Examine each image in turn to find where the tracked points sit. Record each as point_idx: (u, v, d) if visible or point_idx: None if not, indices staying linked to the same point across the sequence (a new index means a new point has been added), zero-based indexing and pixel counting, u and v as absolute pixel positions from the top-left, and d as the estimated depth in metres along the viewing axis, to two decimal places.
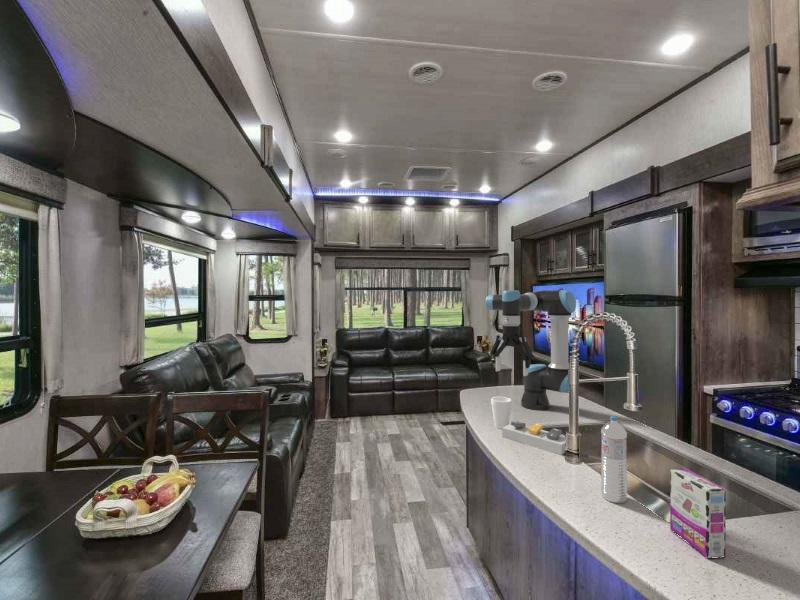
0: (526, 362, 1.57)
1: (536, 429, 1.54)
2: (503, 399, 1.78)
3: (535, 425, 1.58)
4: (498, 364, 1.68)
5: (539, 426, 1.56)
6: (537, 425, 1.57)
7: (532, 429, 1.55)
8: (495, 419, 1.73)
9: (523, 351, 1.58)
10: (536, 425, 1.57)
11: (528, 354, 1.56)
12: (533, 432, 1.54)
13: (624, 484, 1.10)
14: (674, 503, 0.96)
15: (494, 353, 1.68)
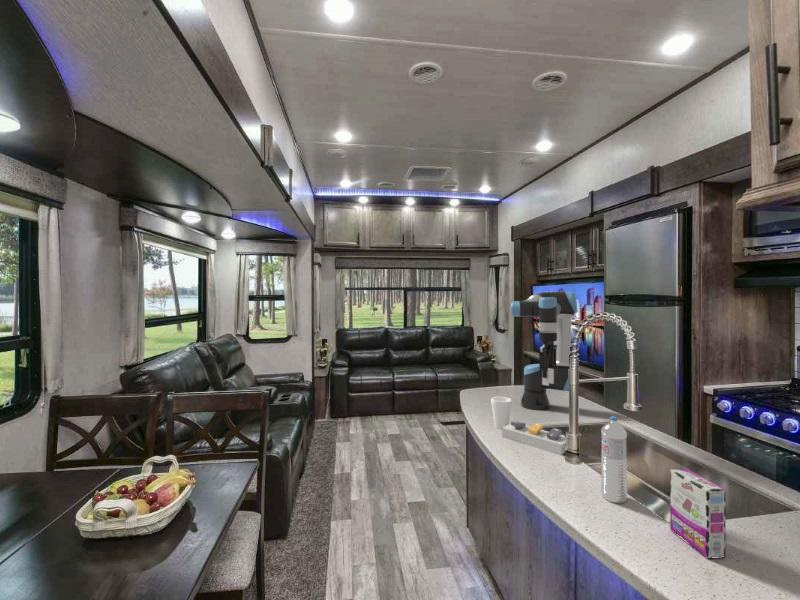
0: None
1: (536, 429, 1.54)
2: (503, 399, 1.78)
3: (535, 425, 1.58)
4: (549, 376, 1.66)
5: (539, 426, 1.56)
6: (537, 425, 1.57)
7: (532, 429, 1.55)
8: (495, 419, 1.73)
9: None
10: (536, 425, 1.57)
11: None
12: (533, 432, 1.54)
13: (624, 484, 1.10)
14: (674, 503, 0.96)
15: None
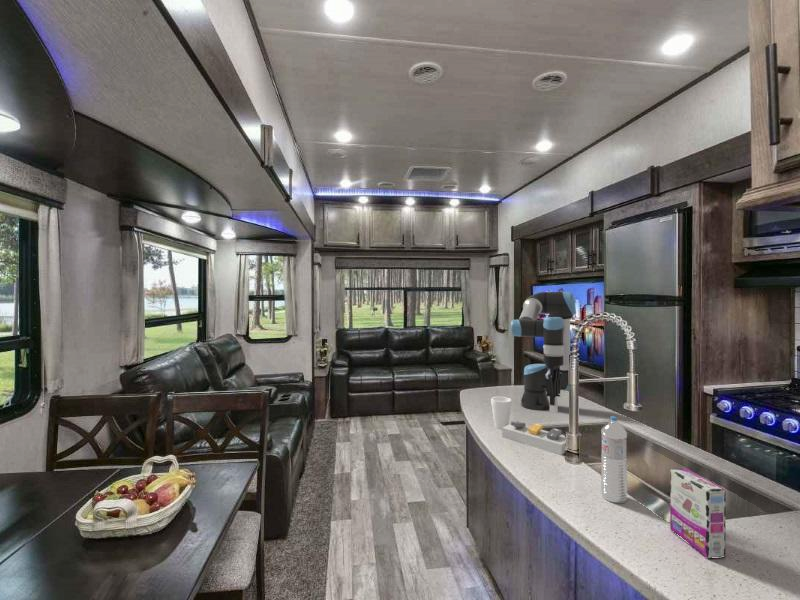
0: None
1: (536, 429, 1.54)
2: (503, 399, 1.78)
3: (535, 425, 1.58)
4: None
5: (539, 426, 1.56)
6: (537, 425, 1.57)
7: (532, 429, 1.55)
8: (495, 419, 1.73)
9: None
10: (536, 425, 1.57)
11: None
12: (533, 432, 1.54)
13: (624, 484, 1.10)
14: (674, 503, 0.96)
15: None
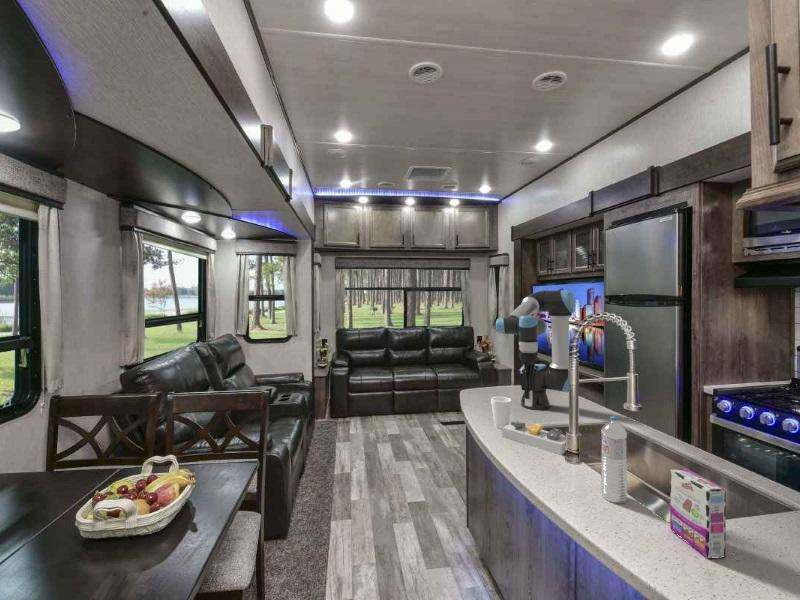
0: None
1: (536, 429, 1.54)
2: (503, 399, 1.78)
3: (535, 425, 1.58)
4: None
5: (539, 426, 1.56)
6: (537, 425, 1.57)
7: (532, 429, 1.55)
8: (495, 419, 1.73)
9: None
10: (536, 425, 1.57)
11: None
12: (533, 432, 1.54)
13: (624, 484, 1.10)
14: (674, 503, 0.96)
15: None
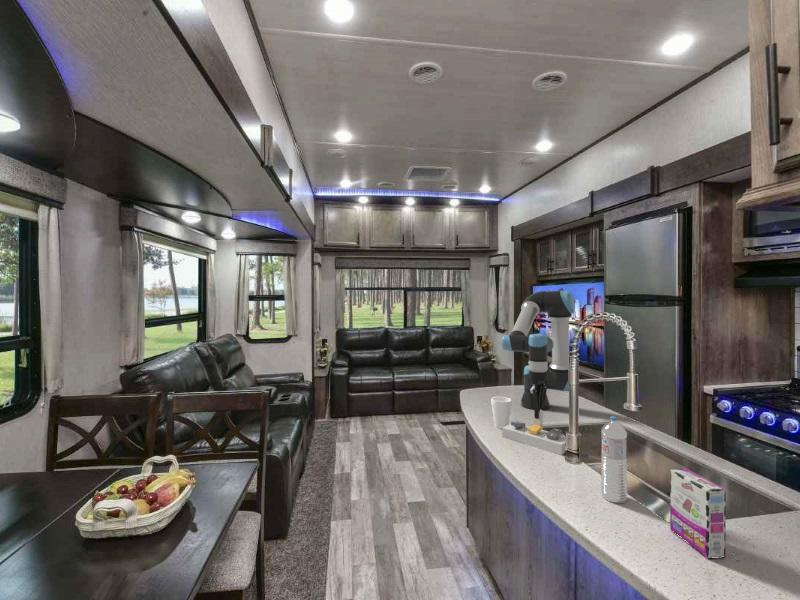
0: None
1: (536, 429, 1.54)
2: (503, 399, 1.78)
3: (535, 425, 1.58)
4: None
5: (539, 426, 1.56)
6: None
7: (532, 429, 1.55)
8: (495, 419, 1.73)
9: None
10: (536, 425, 1.57)
11: None
12: (533, 432, 1.54)
13: (624, 484, 1.10)
14: (674, 503, 0.96)
15: None
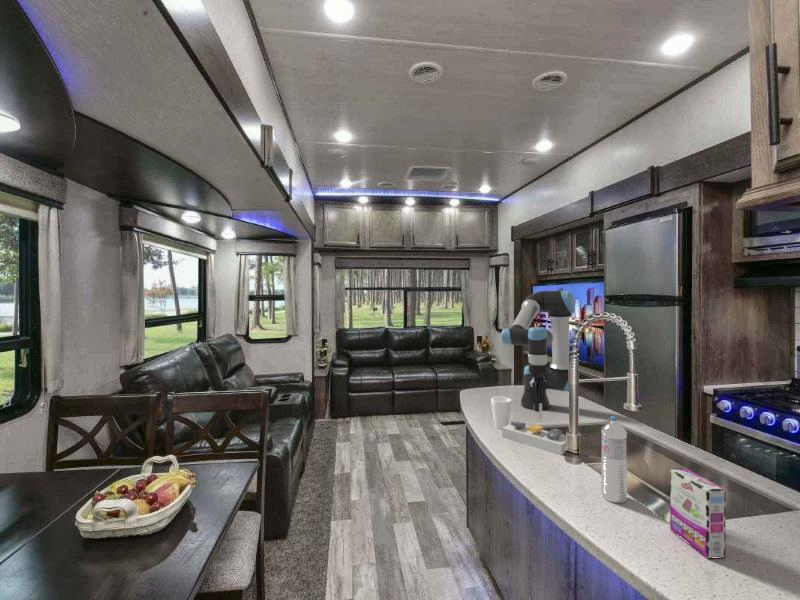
0: None
1: (536, 428, 1.55)
2: (503, 399, 1.78)
3: (535, 426, 1.58)
4: None
5: (539, 427, 1.56)
6: (537, 426, 1.57)
7: (532, 427, 1.55)
8: (495, 419, 1.73)
9: None
10: (536, 426, 1.58)
11: None
12: (533, 430, 1.54)
13: (624, 484, 1.10)
14: (674, 503, 0.96)
15: None
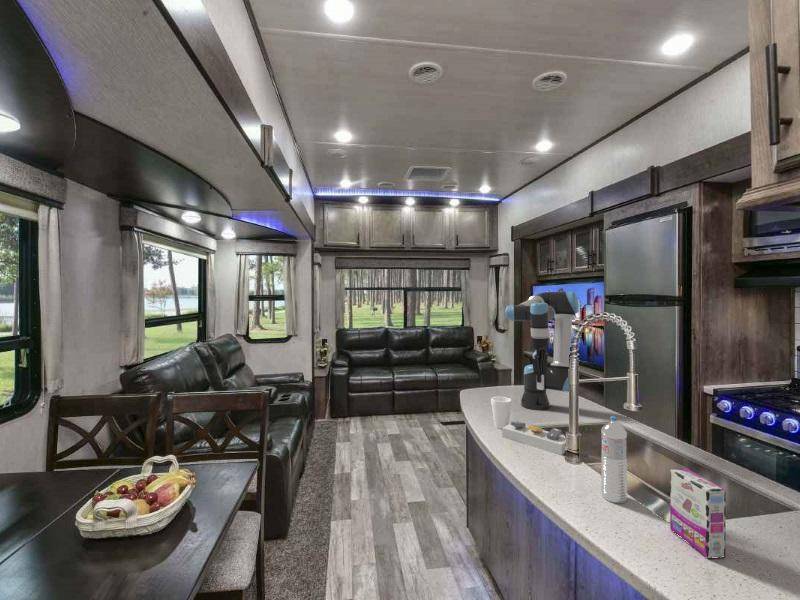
0: None
1: (536, 427, 1.55)
2: (503, 399, 1.78)
3: None
4: None
5: (539, 428, 1.57)
6: (537, 427, 1.58)
7: (532, 426, 1.55)
8: (495, 419, 1.73)
9: None
10: (536, 427, 1.58)
11: None
12: (533, 428, 1.54)
13: (624, 484, 1.10)
14: (674, 503, 0.96)
15: None
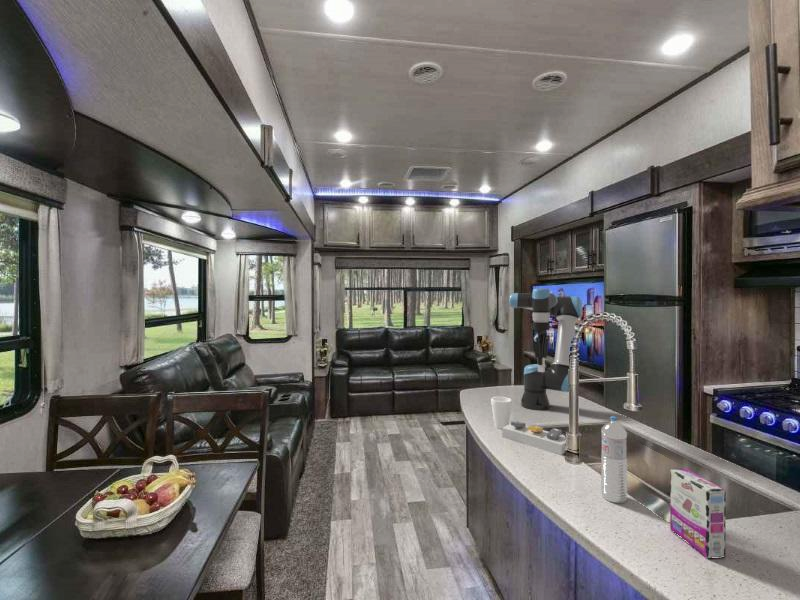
0: None
1: (536, 427, 1.55)
2: (503, 399, 1.78)
3: (535, 426, 1.58)
4: None
5: (539, 427, 1.57)
6: (537, 427, 1.58)
7: (532, 427, 1.55)
8: (495, 419, 1.73)
9: None
10: (536, 426, 1.58)
11: None
12: (533, 429, 1.54)
13: (624, 484, 1.10)
14: (674, 503, 0.96)
15: None
